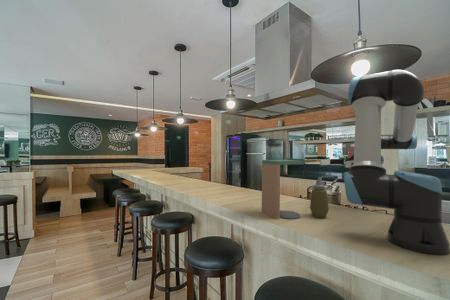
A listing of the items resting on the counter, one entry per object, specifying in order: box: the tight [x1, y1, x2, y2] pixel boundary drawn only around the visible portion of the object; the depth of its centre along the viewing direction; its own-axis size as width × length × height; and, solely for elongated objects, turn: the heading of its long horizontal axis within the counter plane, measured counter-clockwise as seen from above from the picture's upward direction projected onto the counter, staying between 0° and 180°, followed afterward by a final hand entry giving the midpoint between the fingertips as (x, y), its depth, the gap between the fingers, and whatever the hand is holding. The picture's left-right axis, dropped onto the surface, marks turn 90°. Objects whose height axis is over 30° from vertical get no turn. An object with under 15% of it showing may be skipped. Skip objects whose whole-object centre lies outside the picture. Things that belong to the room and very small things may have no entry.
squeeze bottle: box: [309, 176, 330, 219], centre depth 101 cm, size 8×8×18 cm
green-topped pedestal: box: [261, 157, 306, 220], centre depth 105 cm, size 12×16×26 cm
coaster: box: [280, 209, 301, 220], centre depth 102 cm, size 12×12×1 cm
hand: (332, 163), depth 104 cm, fingers open, 13 cm apart
